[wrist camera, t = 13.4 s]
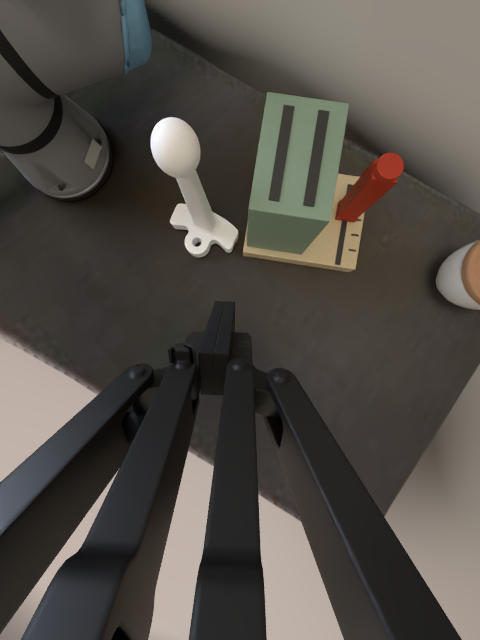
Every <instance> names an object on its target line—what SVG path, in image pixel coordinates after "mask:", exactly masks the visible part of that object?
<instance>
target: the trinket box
mask: <svg viewBox="0 0 480 640" xmlns="http://www.w3.org/2000/svg"><path fill="white" fill-rule="evenodd" d="M436 286H437V289H438V290H439V292H440V293H441V294H442V295H443V296H444V298H446V299H447V300H448V301H450V302H451V303H453V304H455V305H457V306H460V307H463V308H468V309H475V310H480V240H477V241H475V242H472V243H470V244H468V245H466V246H463V247H462V248H460V249H458V250H457V251H455V252H453V253H452V254H451V255H450V256H449V257H447V258H446V259H445V261H444V262H443V263H442V265H441V266H440V268H439V270H438V273H437V276H436Z"/></svg>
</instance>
